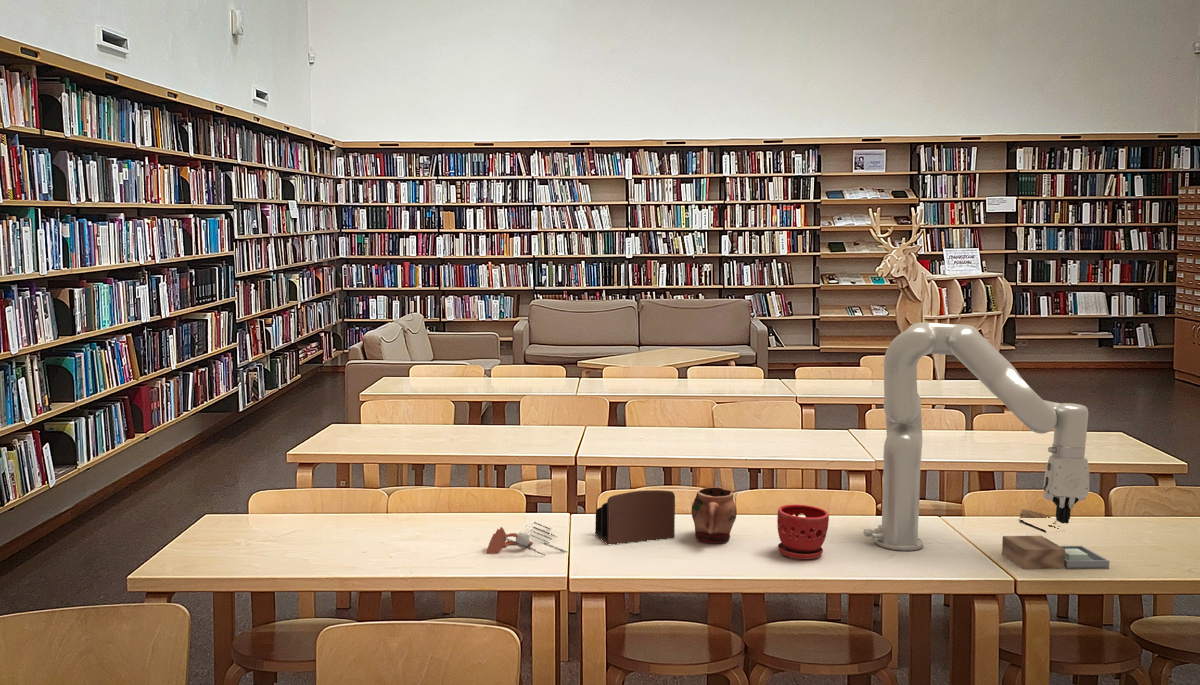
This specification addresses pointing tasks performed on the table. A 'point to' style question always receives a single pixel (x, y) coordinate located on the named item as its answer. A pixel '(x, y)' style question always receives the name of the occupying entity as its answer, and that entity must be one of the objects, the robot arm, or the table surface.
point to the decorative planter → (713, 514)
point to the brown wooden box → (1033, 552)
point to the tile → (1075, 555)
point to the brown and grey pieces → (521, 541)
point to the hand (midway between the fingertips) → (1062, 521)
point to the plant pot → (802, 531)
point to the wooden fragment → (1034, 515)
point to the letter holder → (636, 517)
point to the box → (1092, 562)
